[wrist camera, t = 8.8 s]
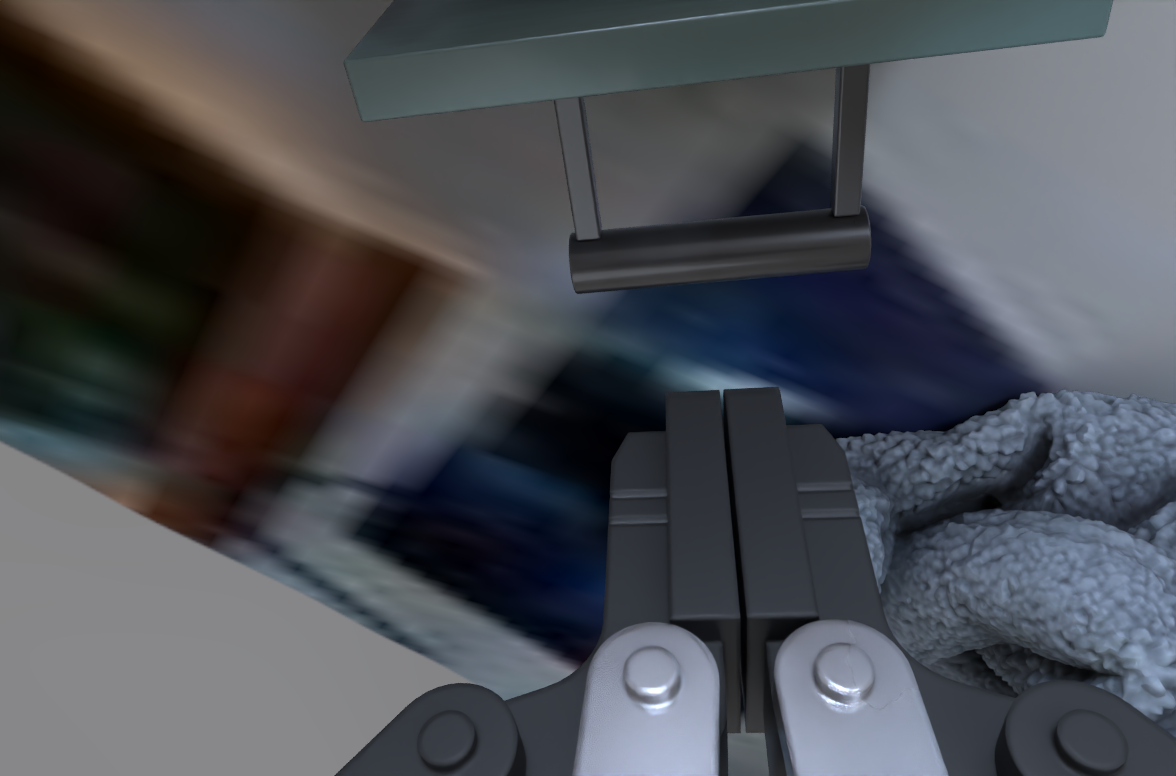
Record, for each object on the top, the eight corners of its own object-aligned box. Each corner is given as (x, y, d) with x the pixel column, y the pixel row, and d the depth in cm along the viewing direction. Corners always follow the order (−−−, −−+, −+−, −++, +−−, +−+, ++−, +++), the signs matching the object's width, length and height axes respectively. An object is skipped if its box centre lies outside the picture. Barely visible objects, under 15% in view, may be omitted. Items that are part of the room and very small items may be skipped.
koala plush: (705, 455, 32) (757, 1136, 17) (1248, 261, 26) (2096, 1065, 11) (857, 687, 41) (978, 1263, 26) (1285, 585, 35) (1770, 1265, 20)
